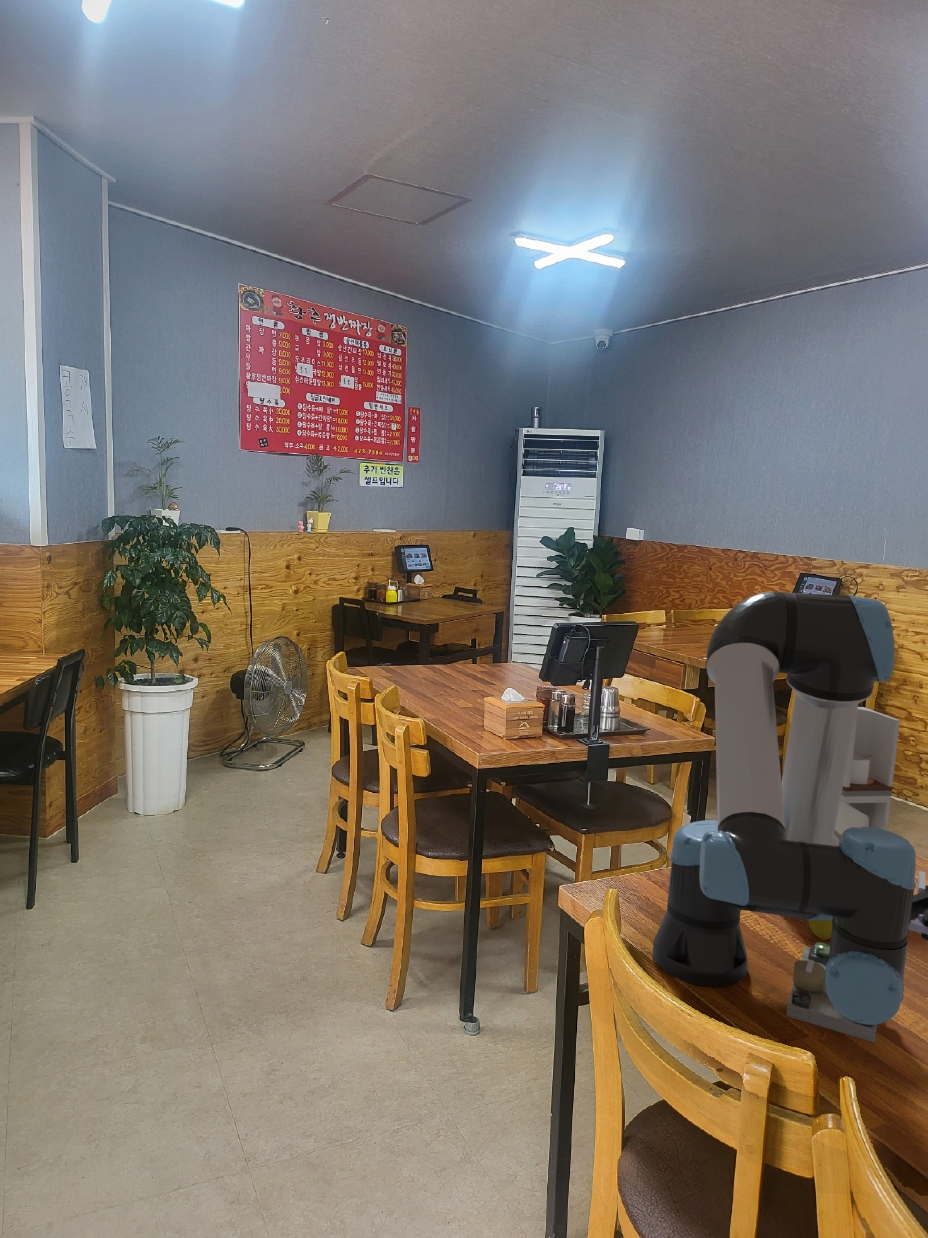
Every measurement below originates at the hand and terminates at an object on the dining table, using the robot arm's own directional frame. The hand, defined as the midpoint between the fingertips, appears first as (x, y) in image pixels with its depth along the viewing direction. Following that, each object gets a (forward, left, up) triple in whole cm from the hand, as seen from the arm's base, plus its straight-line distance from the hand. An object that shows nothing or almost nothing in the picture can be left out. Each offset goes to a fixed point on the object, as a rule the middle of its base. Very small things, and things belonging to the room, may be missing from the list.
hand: (878, 871), depth 121 cm
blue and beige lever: (-1, +5, -22) cm, 22 cm away
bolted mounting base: (0, +8, -24) cm, 25 cm away
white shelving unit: (+23, +55, -24) cm, 64 cm away
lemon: (+6, +26, -24) cm, 36 cm away
